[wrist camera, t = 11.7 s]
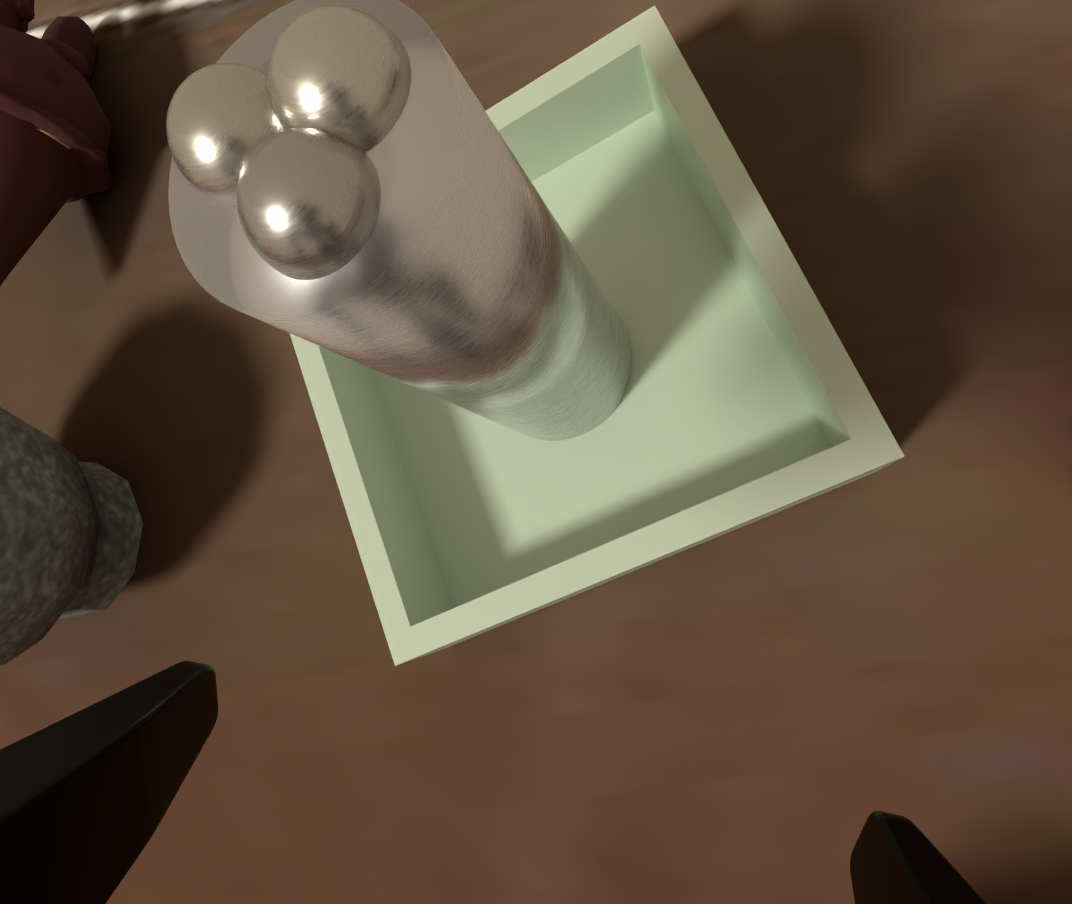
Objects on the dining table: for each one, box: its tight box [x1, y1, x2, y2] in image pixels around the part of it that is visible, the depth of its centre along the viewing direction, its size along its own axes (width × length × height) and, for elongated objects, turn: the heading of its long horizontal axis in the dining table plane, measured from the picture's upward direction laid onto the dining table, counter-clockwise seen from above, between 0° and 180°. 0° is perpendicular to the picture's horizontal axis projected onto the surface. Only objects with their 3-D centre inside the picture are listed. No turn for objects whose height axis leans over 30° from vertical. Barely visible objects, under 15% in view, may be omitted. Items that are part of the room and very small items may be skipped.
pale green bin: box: [290, 6, 904, 666], centre depth 19 cm, size 14×14×4 cm
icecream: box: [0, 0, 113, 285], centre depth 26 cm, size 7×7×15 cm
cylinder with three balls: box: [166, 0, 633, 441], centre depth 14 cm, size 5×5×13 cm
